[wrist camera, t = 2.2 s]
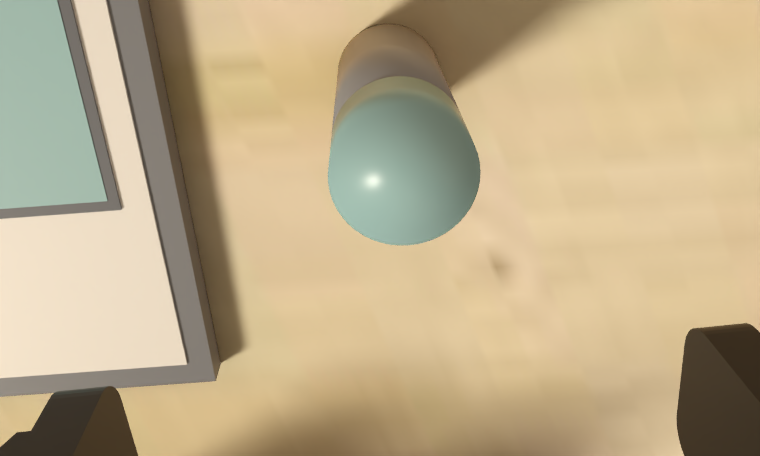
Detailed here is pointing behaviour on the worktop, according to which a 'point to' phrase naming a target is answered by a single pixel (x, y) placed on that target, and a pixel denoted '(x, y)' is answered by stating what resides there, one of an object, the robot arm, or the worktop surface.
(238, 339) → the worktop surface
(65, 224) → the drawing board
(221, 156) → the worktop surface
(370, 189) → the teal marker
